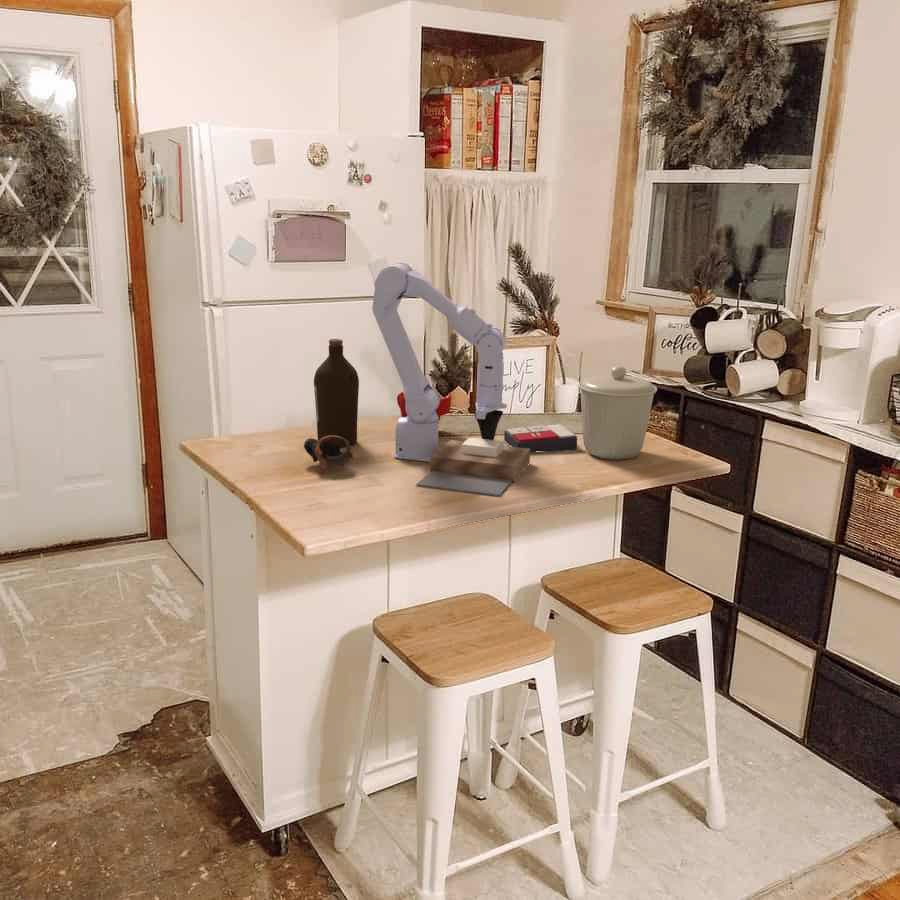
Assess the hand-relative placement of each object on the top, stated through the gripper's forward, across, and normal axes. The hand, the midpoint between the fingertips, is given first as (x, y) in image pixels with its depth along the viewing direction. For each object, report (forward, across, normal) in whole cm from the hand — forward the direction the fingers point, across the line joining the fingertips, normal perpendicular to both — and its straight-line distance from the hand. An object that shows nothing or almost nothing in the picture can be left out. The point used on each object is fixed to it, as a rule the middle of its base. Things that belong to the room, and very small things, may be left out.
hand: (487, 442), depth 203 cm
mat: (+4, -17, 0) cm, 18 cm away
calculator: (+5, +17, -8) cm, 20 cm away
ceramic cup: (+5, +18, +23) cm, 29 cm away
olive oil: (+5, +1, +38) cm, 38 cm away
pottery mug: (+5, -17, +32) cm, 36 cm away
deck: (+4, -5, 0) cm, 7 cm away
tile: (+1, -4, 0) cm, 4 cm away
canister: (+5, +17, -26) cm, 31 cm away
